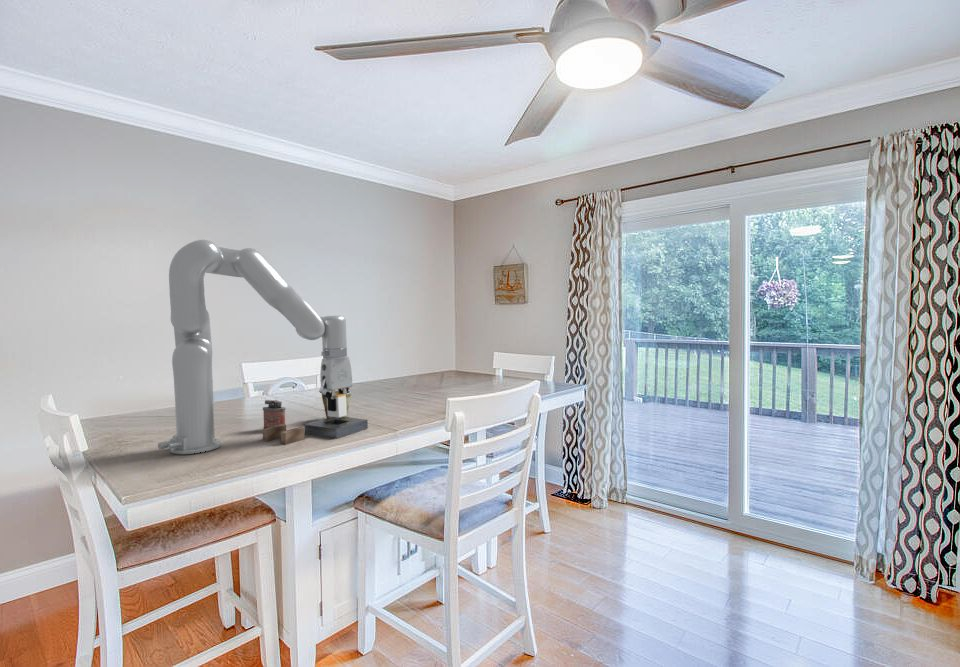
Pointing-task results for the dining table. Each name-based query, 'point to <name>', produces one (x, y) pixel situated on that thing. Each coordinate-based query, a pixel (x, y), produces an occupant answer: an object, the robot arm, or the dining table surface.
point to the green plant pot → (326, 402)
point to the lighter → (273, 414)
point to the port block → (336, 427)
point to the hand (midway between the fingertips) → (336, 409)
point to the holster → (283, 434)
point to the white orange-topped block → (339, 406)
